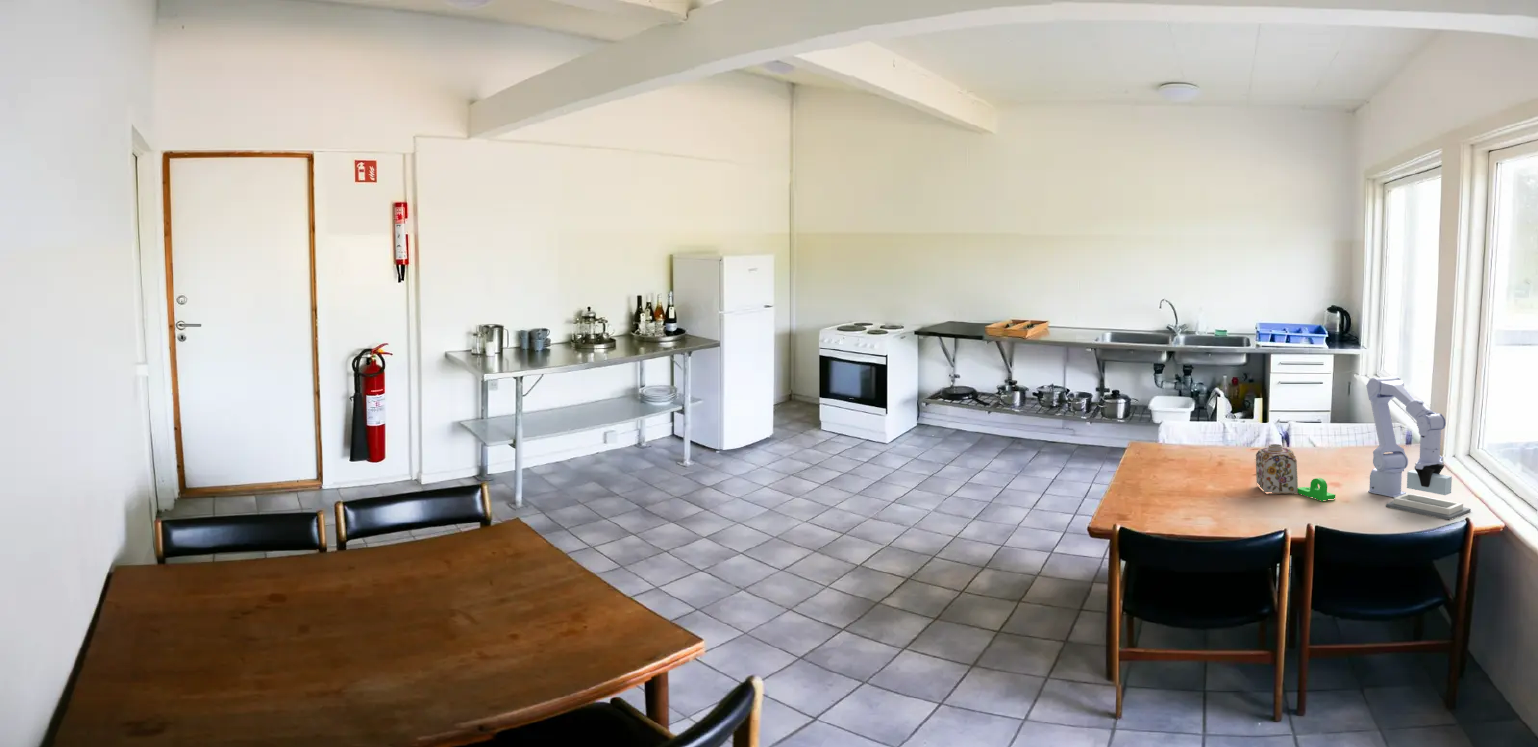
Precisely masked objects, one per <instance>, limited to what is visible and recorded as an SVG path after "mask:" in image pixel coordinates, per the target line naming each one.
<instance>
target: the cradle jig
mask: <svg viewBox="0 0 1538 747" xmlns="http://www.w3.org/2000/svg"><path fill="white" fill-rule="evenodd" d="M1385 506H1386V507H1387V508H1391V509H1396V510H1400V511H1405V512H1410V513H1416V514H1419V515H1425V516H1429V517H1434V518H1438V519H1442V520H1447V519H1451V520H1453V519H1455V517H1456V518H1458V517H1461V516H1463V515H1465V514H1468V513H1470V512H1471V511H1472V510H1471V508H1468V507H1464V503H1460V502H1456V501H1451V500H1447V499H1441V498H1434V497H1431V496H1430V497H1429V496H1425V495H1420V494H1415V493H1411V492H1406V494H1404V495H1401V496H1398V497H1393V501H1390V502H1387V503H1386V504H1385ZM1460 515H1461V516H1460ZM1457 516H1458V517H1457ZM1452 518H1453V519H1452Z"/></svg>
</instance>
